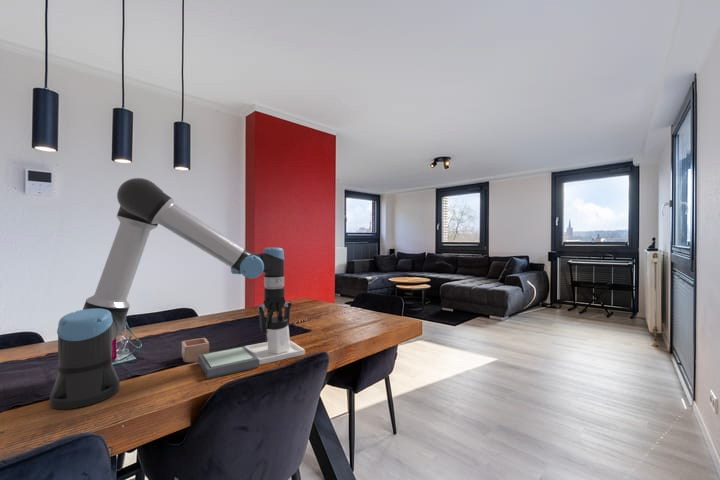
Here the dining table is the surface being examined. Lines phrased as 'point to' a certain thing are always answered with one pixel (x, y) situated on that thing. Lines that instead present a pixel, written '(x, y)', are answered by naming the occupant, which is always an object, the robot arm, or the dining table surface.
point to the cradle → (227, 366)
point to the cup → (194, 349)
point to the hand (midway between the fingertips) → (274, 347)
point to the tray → (266, 357)
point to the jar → (278, 335)
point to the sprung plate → (226, 357)
